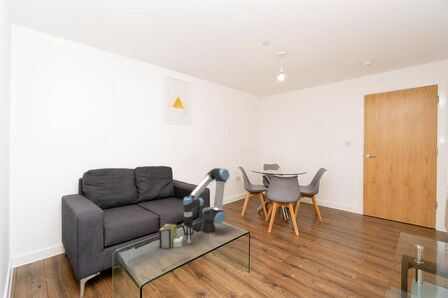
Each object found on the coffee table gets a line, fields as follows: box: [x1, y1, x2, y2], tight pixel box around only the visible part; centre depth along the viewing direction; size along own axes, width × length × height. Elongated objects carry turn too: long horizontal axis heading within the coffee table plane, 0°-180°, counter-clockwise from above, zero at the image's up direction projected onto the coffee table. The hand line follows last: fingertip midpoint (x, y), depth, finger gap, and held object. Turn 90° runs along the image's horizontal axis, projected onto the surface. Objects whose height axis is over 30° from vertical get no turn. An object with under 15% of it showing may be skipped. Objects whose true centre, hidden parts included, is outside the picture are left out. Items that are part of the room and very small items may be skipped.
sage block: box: [172, 237, 184, 248], centre depth 180 cm, size 7×7×5 cm
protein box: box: [158, 223, 178, 249], centre depth 183 cm, size 10×15×16 cm
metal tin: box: [177, 234, 186, 243], centre depth 189 cm, size 6×6×4 cm
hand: (189, 242), depth 182 cm, fingers closed
